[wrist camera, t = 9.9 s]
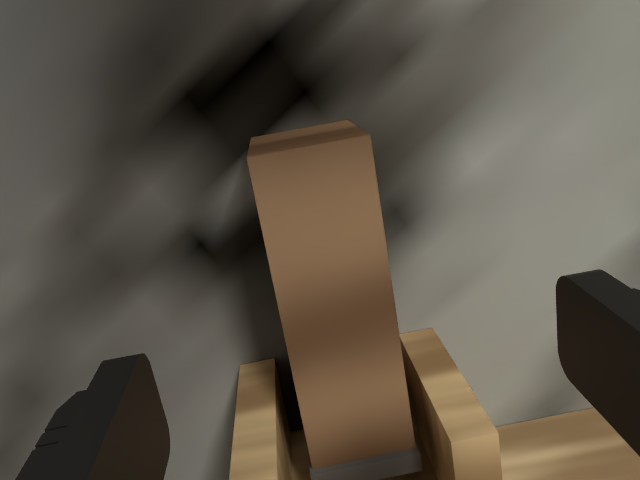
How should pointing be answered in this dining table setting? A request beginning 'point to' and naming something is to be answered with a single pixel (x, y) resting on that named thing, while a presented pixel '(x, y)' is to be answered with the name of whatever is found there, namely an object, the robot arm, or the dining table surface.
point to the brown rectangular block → (335, 298)
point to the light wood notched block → (435, 430)
